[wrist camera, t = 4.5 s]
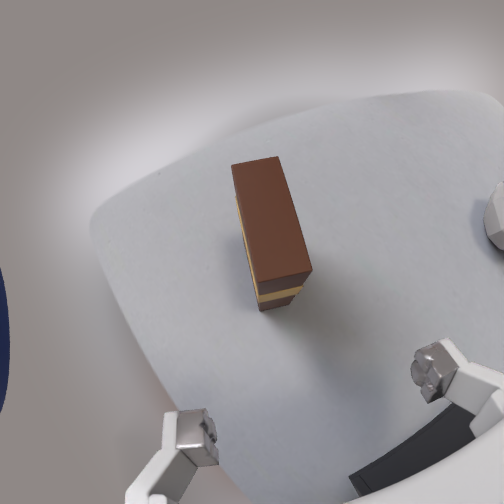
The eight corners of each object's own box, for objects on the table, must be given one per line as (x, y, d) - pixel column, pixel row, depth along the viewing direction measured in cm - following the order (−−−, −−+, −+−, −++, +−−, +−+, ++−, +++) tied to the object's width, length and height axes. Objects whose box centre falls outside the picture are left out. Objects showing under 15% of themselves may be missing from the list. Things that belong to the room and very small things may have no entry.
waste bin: (390, 549, 14) (429, 602, 4) (348, 476, 18) (395, 541, 8) (490, 473, 16) (551, 495, 5) (467, 388, 19) (549, 394, 9)
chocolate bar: (259, 312, 23) (256, 284, 12) (242, 240, 25) (229, 163, 14) (290, 305, 23) (314, 271, 12) (272, 233, 25) (279, 154, 14)
